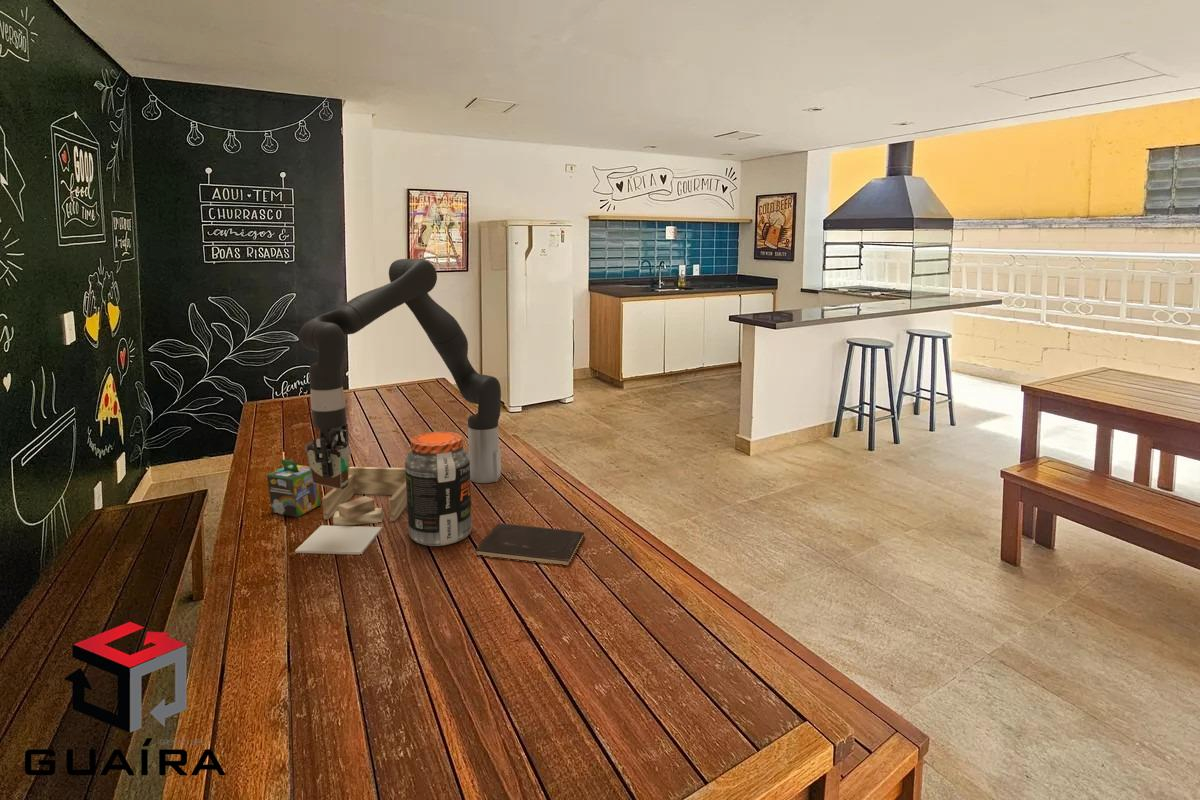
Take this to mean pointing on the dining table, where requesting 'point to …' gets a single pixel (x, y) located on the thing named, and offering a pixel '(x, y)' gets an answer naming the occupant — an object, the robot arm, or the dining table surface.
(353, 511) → the offcut upper
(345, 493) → the frame
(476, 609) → the dining table surface
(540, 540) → the hardcover book
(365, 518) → the offcut lower
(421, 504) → the supplement tub
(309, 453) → the food container
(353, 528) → the mat
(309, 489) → the chalk box
